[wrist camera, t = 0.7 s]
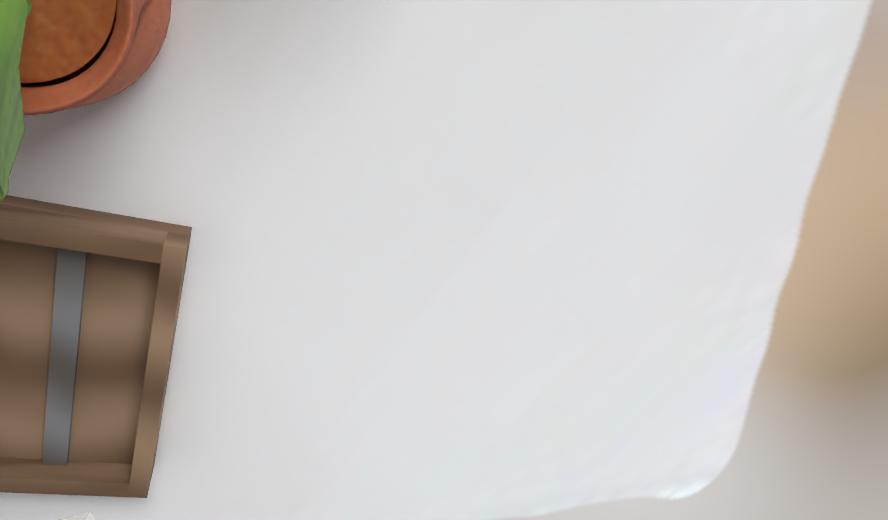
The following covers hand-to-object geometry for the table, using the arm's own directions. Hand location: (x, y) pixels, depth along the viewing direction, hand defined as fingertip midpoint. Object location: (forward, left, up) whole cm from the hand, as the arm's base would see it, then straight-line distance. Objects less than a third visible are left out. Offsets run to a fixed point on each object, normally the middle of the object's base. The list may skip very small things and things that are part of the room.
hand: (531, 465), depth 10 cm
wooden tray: (+16, -15, -25) cm, 34 cm away
